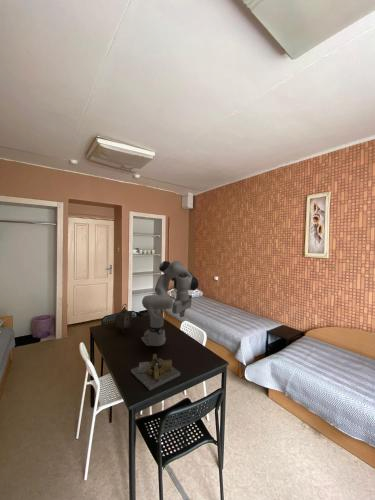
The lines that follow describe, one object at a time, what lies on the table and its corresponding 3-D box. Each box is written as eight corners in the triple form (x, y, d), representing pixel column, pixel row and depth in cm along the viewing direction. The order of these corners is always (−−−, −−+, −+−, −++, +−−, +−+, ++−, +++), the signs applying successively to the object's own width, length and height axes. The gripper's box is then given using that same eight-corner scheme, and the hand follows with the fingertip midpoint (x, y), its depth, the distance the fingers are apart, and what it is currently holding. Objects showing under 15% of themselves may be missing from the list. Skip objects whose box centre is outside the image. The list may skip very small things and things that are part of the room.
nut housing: (131, 372, 134) (131, 361, 134) (160, 360, 149) (160, 350, 149) (149, 390, 118) (149, 378, 118) (180, 375, 132) (180, 364, 132)
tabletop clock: (123, 333, 193) (123, 306, 193) (114, 332, 196) (115, 305, 196) (132, 328, 207) (132, 302, 207) (124, 327, 210) (124, 301, 210)
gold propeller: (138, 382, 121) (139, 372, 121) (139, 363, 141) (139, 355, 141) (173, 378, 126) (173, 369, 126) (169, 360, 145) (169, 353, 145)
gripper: (178, 301, 140) (177, 321, 140) (193, 295, 158) (192, 313, 158) (170, 299, 143) (169, 320, 144) (185, 294, 161) (185, 312, 161)
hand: (181, 316), depth 151 cm, fingers closed
